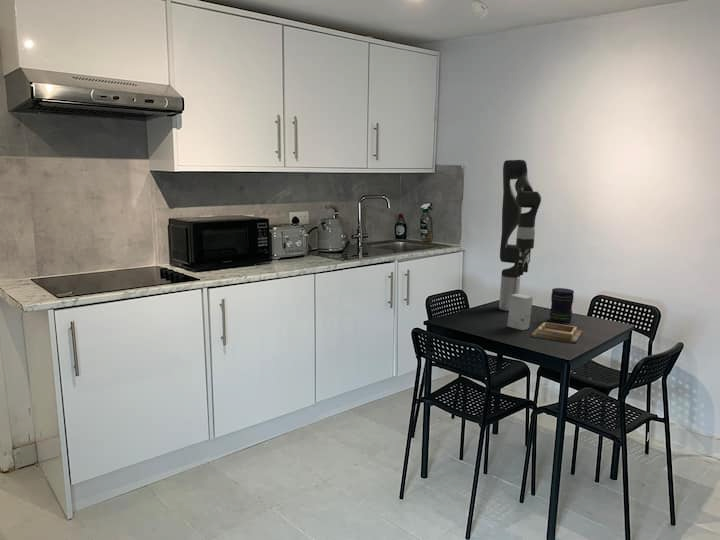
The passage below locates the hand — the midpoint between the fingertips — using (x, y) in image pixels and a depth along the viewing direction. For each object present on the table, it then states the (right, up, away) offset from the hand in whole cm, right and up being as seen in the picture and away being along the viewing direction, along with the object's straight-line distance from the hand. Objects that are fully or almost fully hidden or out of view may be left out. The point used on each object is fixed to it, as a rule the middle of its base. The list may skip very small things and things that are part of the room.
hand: (522, 273), depth 246 cm
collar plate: (+13, -26, -6) cm, 30 cm away
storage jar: (+23, -23, +17) cm, 37 cm away
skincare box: (-1, -25, +4) cm, 25 cm away
